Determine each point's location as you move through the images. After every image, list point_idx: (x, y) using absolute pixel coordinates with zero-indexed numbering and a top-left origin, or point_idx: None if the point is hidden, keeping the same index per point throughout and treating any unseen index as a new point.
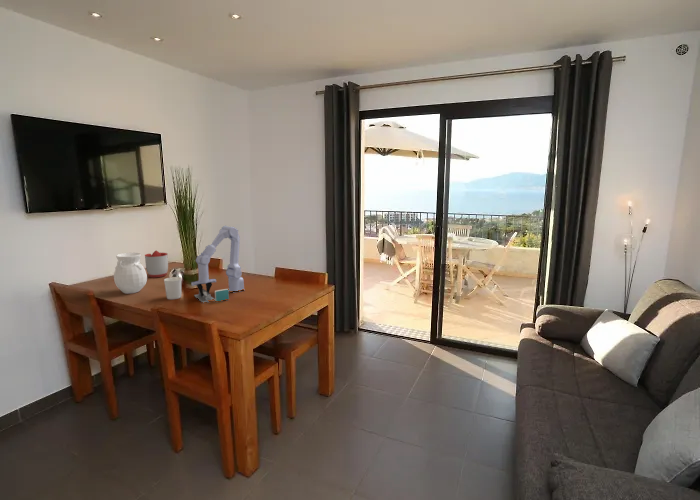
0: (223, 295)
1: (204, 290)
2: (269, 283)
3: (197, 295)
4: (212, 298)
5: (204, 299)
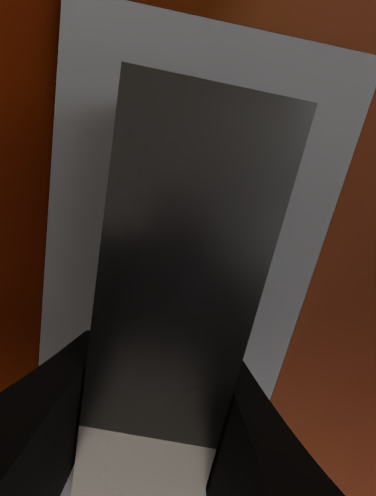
0: None
1: (220, 317)
2: None
3: (113, 92)
4: None
5: None
